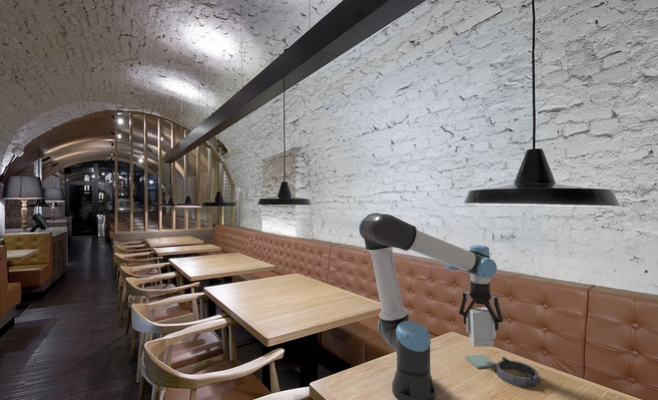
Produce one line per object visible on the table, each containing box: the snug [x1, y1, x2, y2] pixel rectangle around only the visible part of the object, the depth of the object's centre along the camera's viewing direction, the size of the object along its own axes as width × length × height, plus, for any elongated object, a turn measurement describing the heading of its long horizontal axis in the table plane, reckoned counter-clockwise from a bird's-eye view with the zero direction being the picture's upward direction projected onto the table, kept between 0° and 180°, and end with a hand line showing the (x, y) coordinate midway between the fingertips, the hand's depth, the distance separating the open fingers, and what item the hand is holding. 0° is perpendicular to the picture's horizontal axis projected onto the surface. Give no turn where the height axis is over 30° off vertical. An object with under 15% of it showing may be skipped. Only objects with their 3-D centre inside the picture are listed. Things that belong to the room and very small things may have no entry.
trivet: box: [464, 353, 497, 369], centre depth 136 cm, size 9×9×1 cm
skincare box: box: [468, 307, 495, 348], centre depth 136 cm, size 8×6×15 cm
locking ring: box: [495, 356, 540, 388], centre depth 124 cm, size 14×15×4 cm
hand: (480, 334), depth 136 cm, fingers closed on skincare box, 10 cm apart
